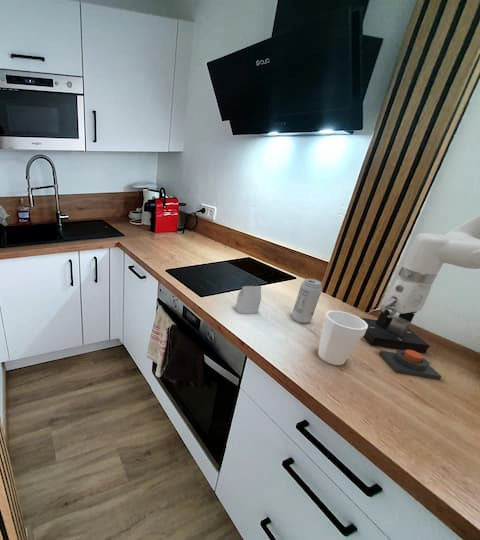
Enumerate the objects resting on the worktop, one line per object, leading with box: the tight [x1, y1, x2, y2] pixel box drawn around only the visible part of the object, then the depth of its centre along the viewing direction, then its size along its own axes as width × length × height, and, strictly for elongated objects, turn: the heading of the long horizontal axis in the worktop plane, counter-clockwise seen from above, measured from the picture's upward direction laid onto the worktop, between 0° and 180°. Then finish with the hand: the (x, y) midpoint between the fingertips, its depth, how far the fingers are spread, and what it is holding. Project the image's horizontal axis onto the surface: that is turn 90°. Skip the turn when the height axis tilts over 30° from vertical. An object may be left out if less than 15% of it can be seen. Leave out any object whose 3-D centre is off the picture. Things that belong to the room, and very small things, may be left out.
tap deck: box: [360, 317, 430, 354], centre depth 92 cm, size 14×12×3 cm
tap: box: [386, 314, 412, 337], centre depth 90 cm, size 7×2×5 cm, turn 16°
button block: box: [378, 349, 442, 381], centre depth 80 cm, size 10×8×3 cm
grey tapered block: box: [235, 285, 262, 314], centre depth 103 cm, size 4×7×10 cm, turn 95°
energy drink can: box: [291, 278, 323, 325], centre depth 98 cm, size 6×6×15 cm
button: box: [403, 350, 424, 363], centre depth 79 cm, size 4×4×2 cm
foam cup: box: [317, 310, 368, 366], centre depth 80 cm, size 10×9×13 cm
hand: (392, 324), depth 90 cm, fingers open, 9 cm apart
